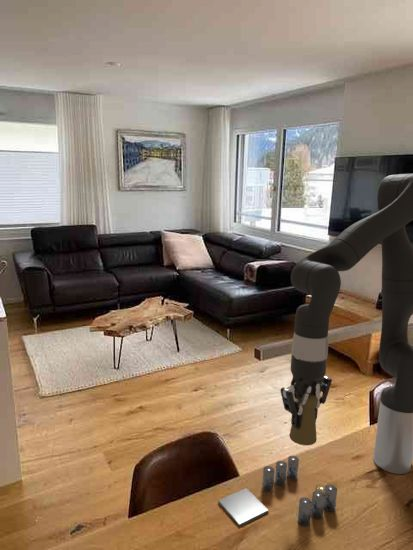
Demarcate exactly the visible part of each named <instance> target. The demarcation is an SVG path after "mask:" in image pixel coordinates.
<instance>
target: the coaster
mask: <svg viewBox="0 0 413 550" xmlns="http://www.w3.org/2000/svg"><path fill="white" fill-rule="evenodd" d="M218 504H219V505H220V507H222V509H223V510H224V511H225V512H226V514H227V515H228V516H229V517H230V518H231V519H232V521H234V523H236V525H237V526H238V527H242V526H244V525H246V524H247V523H249V522H253V521H254V520H256V519H258V518H260V517H261V516H264V515H266V514H268V513H269V509H268V508H267V507H266V506H265V505H264V504H263V503H262V502H261V501H260V500H259V498H258V497H256V496H255V495H254V494H253V493H252V492H251V491H250V490H249V489H248V488H247V487H245V488H243V489H241V490H239V491H236V492H234V493H232V494H230V495H227V496H225V497H224V498H223V497H222V498H221V499H218Z"/></svg>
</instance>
